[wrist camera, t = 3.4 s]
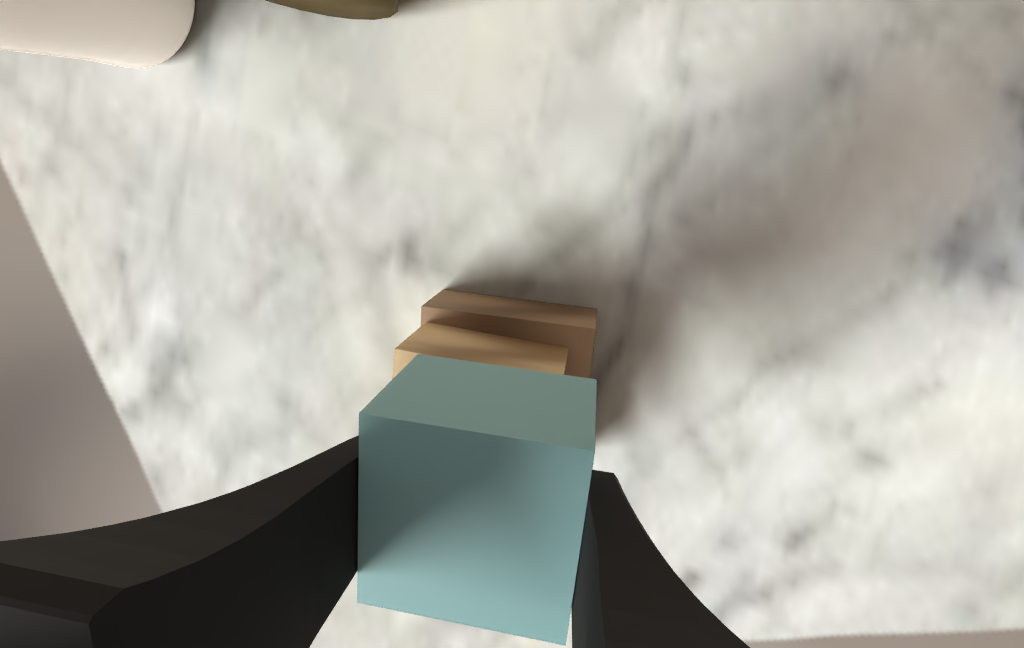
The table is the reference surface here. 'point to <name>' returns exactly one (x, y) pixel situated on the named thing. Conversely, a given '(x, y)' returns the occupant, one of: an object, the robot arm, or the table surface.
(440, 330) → the tower mid
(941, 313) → the table surface
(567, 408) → the teal block
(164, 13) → the drinking glass
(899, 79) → the table surface
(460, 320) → the tower base
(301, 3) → the olive rounded piece
